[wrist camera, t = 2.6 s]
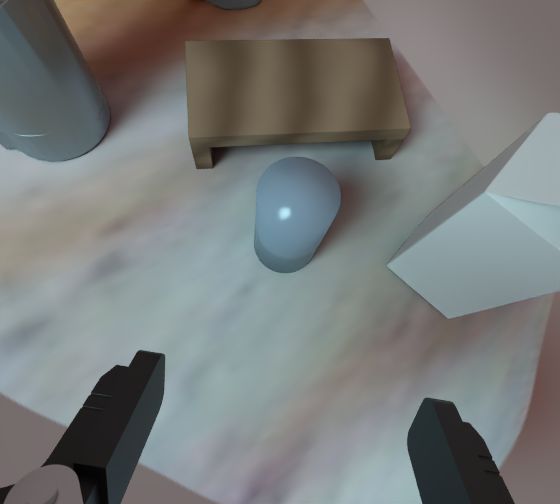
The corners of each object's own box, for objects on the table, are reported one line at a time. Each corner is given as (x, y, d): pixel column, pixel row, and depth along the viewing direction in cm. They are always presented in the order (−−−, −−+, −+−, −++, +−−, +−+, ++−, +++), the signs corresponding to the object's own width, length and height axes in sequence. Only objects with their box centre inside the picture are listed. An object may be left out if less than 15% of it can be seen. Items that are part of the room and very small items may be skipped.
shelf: (196, 169, 35) (188, 137, 30) (192, 82, 38) (184, 40, 33) (390, 159, 37) (411, 128, 33) (372, 77, 40) (389, 38, 35)
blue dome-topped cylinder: (256, 275, 33) (260, 236, 23) (251, 217, 34) (253, 158, 25) (318, 270, 33) (347, 230, 24) (310, 213, 35) (334, 155, 25)
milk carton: (384, 266, 34) (540, 148, 16) (428, 214, 36) (612, 56, 18) (447, 320, 33) (691, 260, 15) (489, 263, 35) (749, 149, 17)
